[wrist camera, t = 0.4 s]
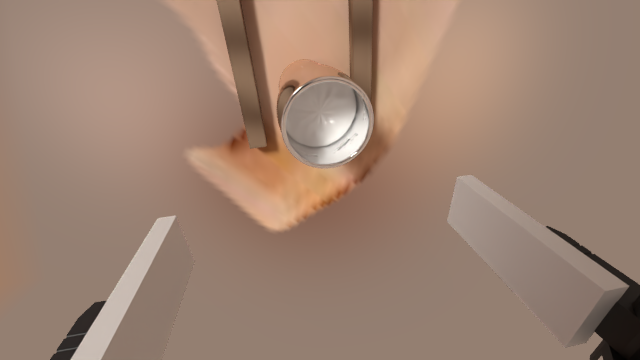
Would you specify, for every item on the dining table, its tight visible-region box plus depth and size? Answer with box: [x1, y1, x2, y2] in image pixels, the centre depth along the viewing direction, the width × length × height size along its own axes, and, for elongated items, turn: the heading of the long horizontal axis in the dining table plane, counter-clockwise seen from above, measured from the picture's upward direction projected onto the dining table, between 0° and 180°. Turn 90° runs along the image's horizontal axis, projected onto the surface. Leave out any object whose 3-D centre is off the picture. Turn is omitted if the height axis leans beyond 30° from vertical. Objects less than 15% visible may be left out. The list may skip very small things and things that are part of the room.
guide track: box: [217, 0, 373, 149], centre depth 26 cm, size 26×15×3 cm, turn 5°
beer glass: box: [277, 59, 374, 168], centre depth 25 cm, size 7×7×15 cm
